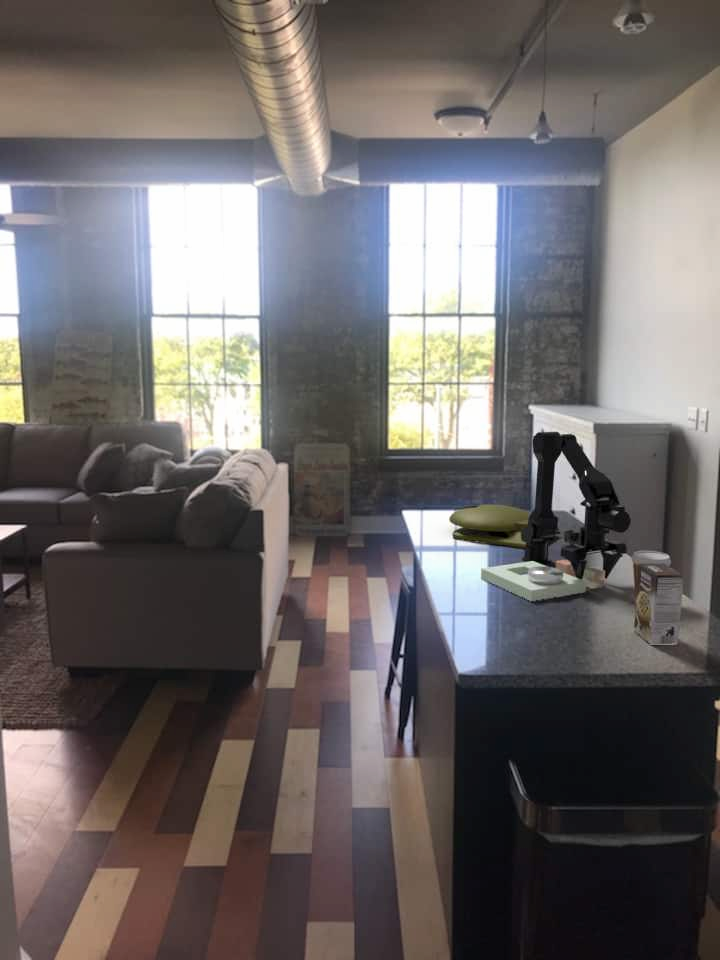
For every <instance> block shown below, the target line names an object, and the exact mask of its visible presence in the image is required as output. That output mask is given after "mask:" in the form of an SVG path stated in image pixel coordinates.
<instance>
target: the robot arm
mask: <svg viewBox="0 0 720 960" xmlns="http://www.w3.org/2000/svg"><path fill="white" fill-rule="evenodd" d="M532 438H533V439H532V453H533V454H534V457H535V458H536V460H537V471H536V482H535V483H536V484H535V497H534V499H535V501H534V509H533V510H532V511H531V513H530V514H531V515H530V516H529V519H528V525H527V527H526V528H525V529H524V530H523V532H522V533H521V540H522V541H524V542H526V546H525V549H524V554H523V556H524V557H521V560H523V561H524V562H529V561H534V562H537V563H539V564H545V563H546V564H547V563H551V562H552V560H551V559H549V546H550V545H549V543H550V542H551V543H552V542H553V543H554V541H555V537H556V534H557V533H556V532H557V530H558V528H559V527H558V524H559V518H558V516H557V515H556V514H555V513H554V512H553V498H554V483H555V468H556V463H557V461H558V459H559V457H560V456H561V455H563V456H564V457H565V458H566V459H565V460H567V462H568V464H569V465H570V467H571V468H572V469H573V472H574V473H575V475H576V476H577V478H578V479H579V480H578V488H579V489H580V492H581V494H582V497H583V499H584V500H583V501H581V502H580V505H581V507H585V509H584V524H583V525H584V526H580V529H579V532H575V531H574V530H573V529H570V530H564V533H563V540H564V542H565V543H568V544H569V545H564V546H562V547H561V548H560V557H562V558H564V560H569V562H570V563H571V565H572V567H573V570H574V573H575V576H576V578H578V579H581V580H582V579H583V575H584V571H585V568H587V567H586V565H587V563H588V561H587V560H586V558H587V555H591V554H599V553H600V554H601V556H602V570H604V571H605V579H608V577H609V576H610V574H611V573H612V571H613V570H614V567H615V566H616V564H617V563H618V561H619V560H620V559H621V558H623V556H624V554H627V551H628V550H627V547H628V546H627V544H626V543H625V542H622V541H619V540H617V539H607V540H606V537H607V534H610V531H612V532H616V533H620V534H622V533H625V532H626V531H628V529H629V528H630V526H631V522H632V521H631V520H632V519H631V517H630V515H629V513H628V512H627V511H626V507H625V506H623V505H621V503H620V501H619V497H618V495H617V493H616V491H615V489H614V485H613V482H612V481H611V480H610V478H608V476H606V474H605V473H603V472H601V471H599V470H598V469H597V468H596V467H595V466H594V464H592V462H591V460H590V459H589V458H588V456H587V455H586V452H585V451H584V450H583V448H582V447H581V445H580V444H579V443H578V441H577V440H578V439H577V437H576V435H575V434H572V433H564V434H563V433H560V432H558V431H541V432H540V431H538V432H537V433H535V434H534V435H533V437H532Z"/></svg>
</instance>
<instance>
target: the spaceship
mask: <svg viewBox="0 0 720 960" xmlns="http://www.w3.org/2000/svg"><path fill="white" fill-rule="evenodd" d="M530 515H531V513H530V512H529V511H526V510H523V509H521V508H518V507H514V506H510V505H509V506H508V505H503V504H475V505H470V506H465V507H463V508H461V509H458V510H456V511H454V512H453V513H452V514H451V515H450V516H449V517H448V518H449V519H448V520H449V522H450V523H451V524H453V525H455V526H457V527H461V528H465V529H471V530H475V531H476V530H477V531H484V532H485V531H486V532H504V533H505V534H506V535H508V536H507V537H504V536H496V535H490V534H489V535H488V534H481V533H474V532H468V531H455V532H453V533H452V535H451V536H452V537H453V538H454V539H455V538H456V539H455V540H460V539H464V540H463V541H467V540H471V541H470V542H474V541H478V542H477V543H481V542H485V543H484V544H488V543H492V544H491V545H495V544H499V545H498V546H502V545H505V546H504V547H509V546H511V547H512V548H516V547H517V548H516V549H523V548H525V546H526V542H524V541H522V540H521V533H522V532H523V530H524V529H525V528H526V527H527V525H528V519H529V516H530ZM559 532H560V528H559V527H558V530H557V532H556V534H558V533H559Z"/></svg>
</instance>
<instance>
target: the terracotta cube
mask: <svg viewBox="0 0 720 960" xmlns="http://www.w3.org/2000/svg"><path fill="white" fill-rule="evenodd" d="M555 568H557V569H560V570H562V571H563V573H565V574H568V575H571V576H573V577H576V576H575V573H574V570H573V567H572V565H571V563H570V562H569V560H566V559H560V560H556V561H555Z"/></svg>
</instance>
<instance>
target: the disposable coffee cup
mask: <svg viewBox="0 0 720 960" xmlns="http://www.w3.org/2000/svg"><path fill="white" fill-rule="evenodd" d="M631 562H632V566H633V567H632V568H633V570H632V571H633V581H634V582H633V583H634V599H635V600H636V591H637V575H638V564H641V563H656V564H663V563H664V564H666V565H667V566H669V567H671V566H670V565H671V563H672V560H671V558H670V555H668V553H664V552H662V551H661V552H660V551H655V550H654V551H653V550H638V551H635V552H634V553H632V556H631Z"/></svg>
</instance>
